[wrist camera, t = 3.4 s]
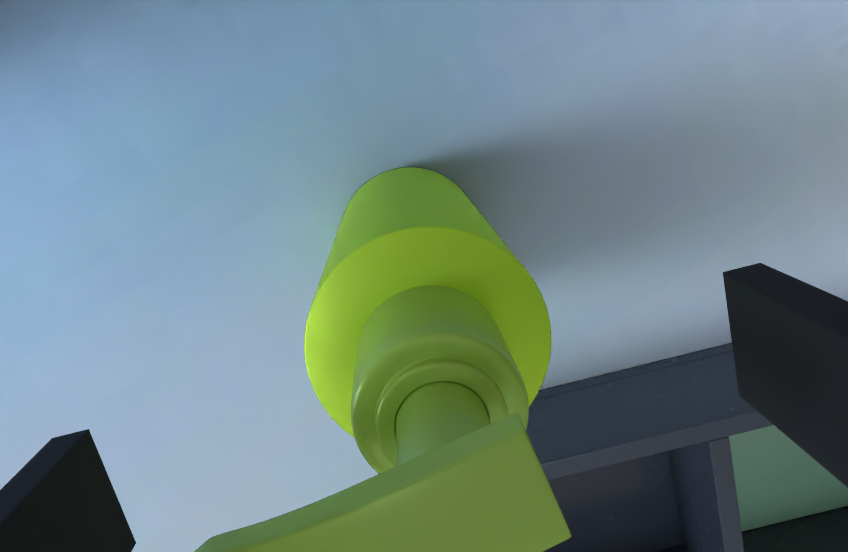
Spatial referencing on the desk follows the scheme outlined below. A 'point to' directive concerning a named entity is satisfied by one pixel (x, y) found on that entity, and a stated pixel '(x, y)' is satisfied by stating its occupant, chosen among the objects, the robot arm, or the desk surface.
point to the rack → (680, 465)
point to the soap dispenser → (424, 382)
